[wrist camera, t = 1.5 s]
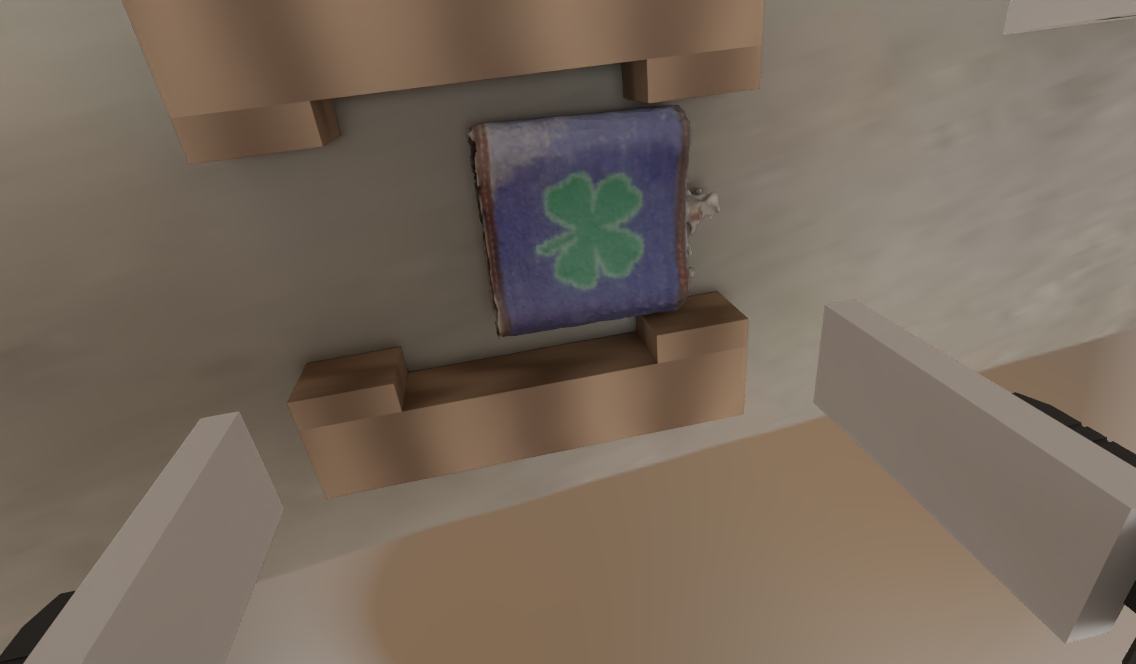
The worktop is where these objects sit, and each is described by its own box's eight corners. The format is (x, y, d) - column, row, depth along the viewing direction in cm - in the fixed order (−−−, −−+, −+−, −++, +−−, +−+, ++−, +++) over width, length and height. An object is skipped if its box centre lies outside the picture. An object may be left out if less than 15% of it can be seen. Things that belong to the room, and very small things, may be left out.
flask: (468, 127, 20) (736, 100, 22) (463, 121, 23) (703, 98, 25) (500, 349, 24) (724, 310, 26) (493, 323, 27) (697, 289, 29)
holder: (340, 452, 29) (326, 498, 26) (166, -10, 20) (111, -24, 16) (715, 379, 32) (743, 414, 28) (724, -66, 22) (768, -87, 19)
